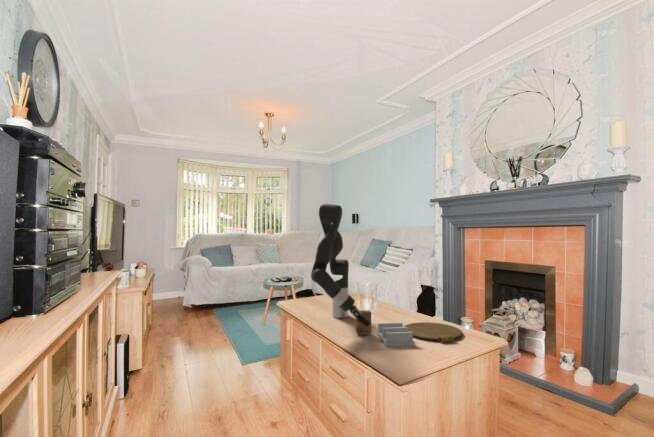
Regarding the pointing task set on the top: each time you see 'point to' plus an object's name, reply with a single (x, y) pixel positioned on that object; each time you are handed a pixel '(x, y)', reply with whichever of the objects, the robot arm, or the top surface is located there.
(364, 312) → the brown rectangular block
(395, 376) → the top surface
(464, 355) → the top surface
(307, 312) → the top surface
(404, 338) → the rack
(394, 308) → the top surface
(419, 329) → the decorative disc
